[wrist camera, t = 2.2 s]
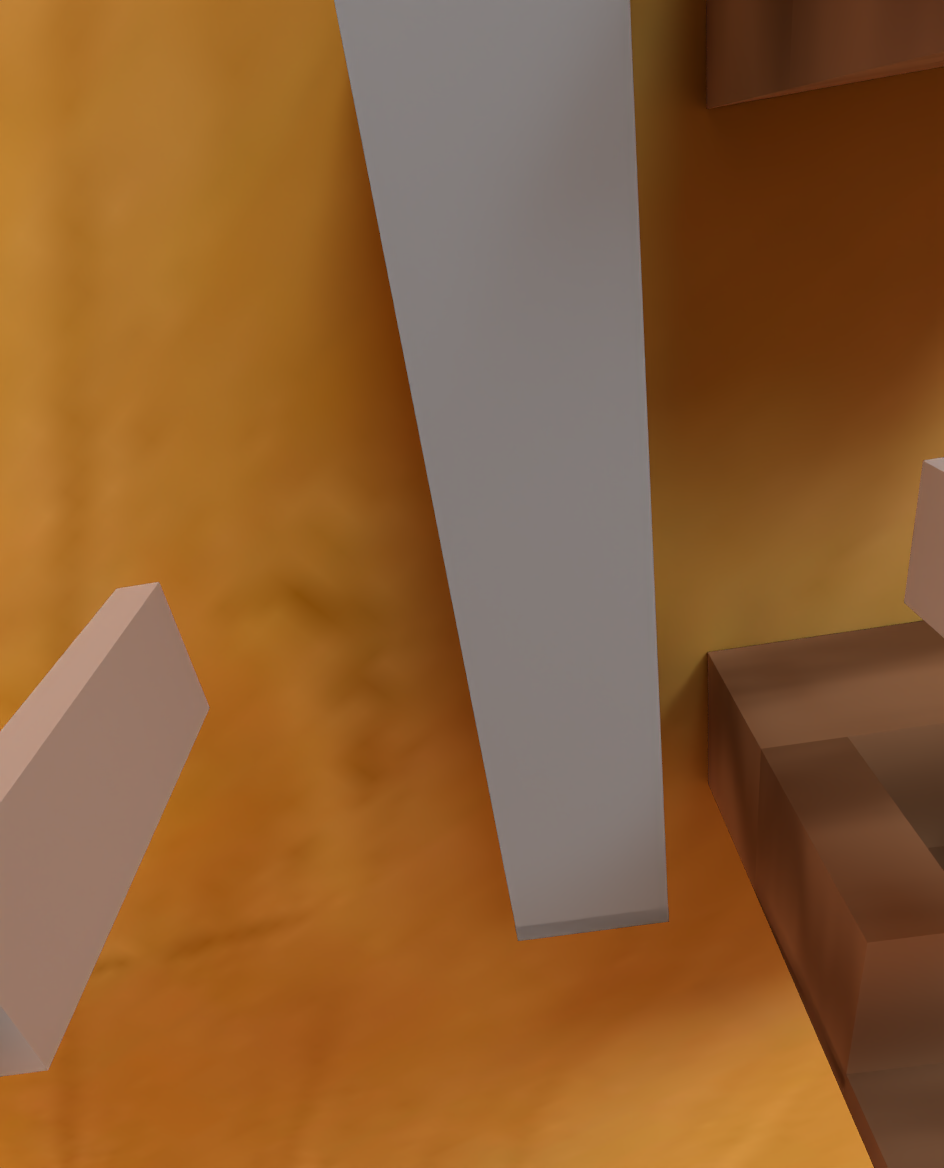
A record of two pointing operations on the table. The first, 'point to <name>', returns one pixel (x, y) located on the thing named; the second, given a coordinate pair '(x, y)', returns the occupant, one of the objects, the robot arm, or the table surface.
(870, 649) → the post foot
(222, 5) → the table surface
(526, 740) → the rail
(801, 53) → the post head
